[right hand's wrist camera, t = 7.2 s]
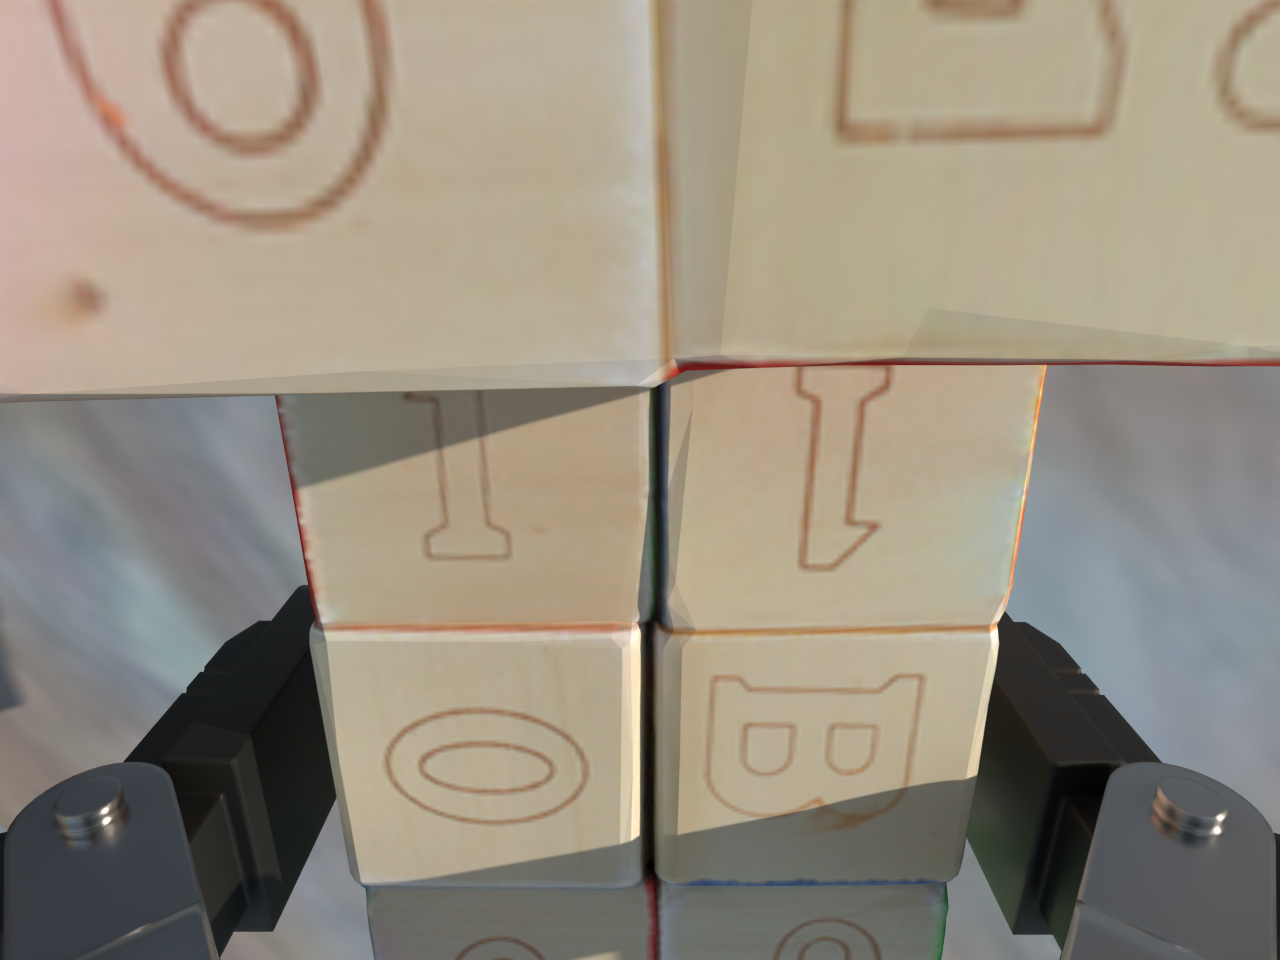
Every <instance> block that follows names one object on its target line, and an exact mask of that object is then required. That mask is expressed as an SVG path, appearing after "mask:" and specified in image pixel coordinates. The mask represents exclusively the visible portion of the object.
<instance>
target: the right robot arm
mask: <svg viewBox="0 0 1280 960" xmlns="http://www.w3.org/2000/svg"><path fill="white" fill-rule="evenodd" d="M315 619H316V617H315V613H314V610H313V606H312V602H311V597H310V592H309V586H308V585H301V586H300V587H298V588H297V589H296V590H295V592H294V593H293V594H292V595H291V597H290V598H289V599H288V600H287V602H286V603H285V604H284V605H283V607H282V608H281V609H280V610H279V612H278V613H277V614H276V615H275V617H274V618H273V619H272V621H258V622H256V623H255V624H253V625H252V626H250V627H249V628H247V629H245V630H244V631H242V632H241V633H239V634H238V635H236V636H234V637H233V638H231V639H230V640H228V641H227V642H225V643H224V645H223V646H222V647H221V648H220V649H219V650H218V652H217V653H216V654H215V655H214V656H213V657H212V659H211V660H210V661H209V662H208V663H207V664H206V666H205V667H204V668H205V669H204V672H200V673H199V674H198V675H197V676H196V677H195V679H194V680H193V681H192V682H191V683H190V684H189V686H188V687H187V692H186V693H182V694H181V695H180V696H179V697H178V698H177V700H176V701H175V702H174V703H173V704H172V706H171V707H170V708H169V709H168V710H167V711H166V713H165V714H164V715H163V716H162V717H161V718H160V720H159V721H158V722H157V723H156V724H155V725H154V727H153V728H152V729H151V730H150V731H149V732H148V734H147V735H146V736H145V737H144V738H143V740H142V741H141V742H140V743H139V744H138V745H137V747H136V748H135V749H134V750H133V751H132V752H131V754H130V755H129V756H128V757H127V758H126V759H125V761H124V762H123V763H114V764H110V765H105V766H100V767H97V768H94V769H91V770H87V771H85V772H82V773H80V774H77V775H74V776H72V777H70V778H68V779H66V780H64V781H62V782H60V783H58V784H56V785H55V786H53V787H51V788H50V789H48V790H46V791H45V792H43V793H42V794H41V795H39V796H38V797H36V798H35V799H34V800H33V801H32V802H30V803H29V804H28V805H27V806H26V807H25V808H24V809H23V810H22V811H21V812H20V813H19V814H18V815H17V816H16V818H15V819H14V821H13V822H12V823H11V825H10V827H9V829H8V831H7V832H5V833H0V960H220V957H221V955H222V953H223V951H224V949H225V947H226V945H227V943H228V941H229V939H230V938H231V936H232V934H233V932H273V931H274V928H275V926H276V924H277V922H278V920H279V918H280V916H281V914H282V912H283V909H284V907H285V905H286V903H287V901H288V899H289V897H290V895H291V893H292V890H293V888H294V886H295V884H296V882H297V880H298V878H299V876H300V874H301V871H302V869H303V867H304V865H305V863H306V861H307V859H308V857H309V855H310V852H311V850H312V848H313V846H314V844H315V842H316V840H317V838H318V836H319V833H320V831H321V829H322V827H323V825H324V823H325V821H326V819H327V817H328V814H329V812H330V810H331V808H332V806H333V804H334V802H335V800H336V797H337V796H336V791H335V785H334V780H333V774H332V769H331V763H330V757H329V752H328V746H327V740H326V735H325V729H324V724H323V718H322V712H321V707H320V701H319V695H318V690H317V684H316V678H315V673H314V667H313V662H312V656H311V650H310V645H309V642H310V628H311V626H312V624H313V622H314V620H315ZM997 629H998V639H999V647H998V655H997V662H996V669H995V674H994V679H993V683H992V688H991V693H990V698H989V703H988V709H987V715H986V722H985V728H984V735H983V741H982V748H981V754H980V761H979V767H978V773H977V780H976V785H975V790H974V795H973V800H972V806H971V811H970V816H969V821H968V827H967V834H966V837H967V839H968V841H969V844H970V846H971V848H972V850H973V852H974V854H975V856H976V858H977V860H978V862H979V864H980V866H981V869H982V871H983V873H984V875H985V877H986V879H987V881H988V883H989V885H990V887H991V889H992V891H993V894H994V896H995V898H996V900H997V902H998V904H999V906H1000V908H1001V910H1002V912H1003V914H1004V917H1005V919H1006V921H1007V923H1008V925H1009V927H1010V929H1011V931H1012V933H1013V935H1053V936H1054V937H1055V939H1056V941H1057V943H1058V945H1059V947H1060V949H1061V951H1062V953H1061V957H1060V960H1280V834H1276V833H1273V831H1272V829H1271V827H1270V825H1269V823H1268V822H1267V821H1266V819H1265V818H1264V816H1263V815H1262V814H1261V813H1260V812H1259V811H1258V810H1257V809H1256V808H1255V807H1254V806H1253V805H1252V804H1251V803H1250V802H1248V801H1247V800H1246V799H1245V798H1244V797H1242V796H1241V795H1239V794H1238V793H1237V792H1235V791H1234V790H1232V789H1230V788H1229V787H1227V786H1225V785H1224V784H1222V783H1220V782H1218V781H1216V780H1214V779H1212V778H1210V777H1208V776H1206V775H1203V774H1200V773H1198V772H1195V771H1193V770H1189V769H1186V768H1183V767H1180V766H1175V765H1170V764H1166V763H1162V762H1161V761H1160V760H1159V758H1158V757H1157V756H1156V755H1155V754H1154V753H1153V751H1152V750H1151V749H1150V748H1149V747H1148V746H1147V744H1146V743H1145V742H1144V741H1143V740H1142V739H1141V738H1140V736H1139V735H1138V734H1137V733H1136V732H1135V731H1134V729H1133V728H1132V727H1131V726H1130V725H1129V724H1128V722H1127V721H1126V720H1125V719H1124V718H1123V717H1122V715H1121V714H1120V713H1119V712H1118V711H1117V710H1116V708H1115V707H1114V706H1113V705H1112V704H1111V703H1110V702H1109V700H1108V699H1107V698H1106V697H1105V696H1104V695H1100V694H1099V689H1098V688H1097V686H1096V685H1095V684H1094V683H1093V682H1092V681H1091V679H1090V678H1089V677H1088V676H1087V675H1086V674H1082V673H1081V668H1080V667H1079V666H1078V664H1077V663H1076V662H1075V661H1074V660H1073V659H1072V657H1071V656H1070V655H1069V654H1068V653H1067V652H1066V650H1065V649H1064V648H1063V647H1062V646H1061V645H1060V644H1059V643H1058V642H1056V641H1055V640H1053V639H1052V638H1050V637H1048V636H1047V635H1045V634H1044V633H1042V632H1040V631H1039V630H1037V629H1036V628H1034V627H1033V626H1031V625H1029V624H1028V623H1026V622H1013V620H1012V619H1011V618H1010V617H1009V615H1008V614H1007V613H1006V612H1005V611H1004V613H1003V615H1002V616H1001V618H1000V620H999V622H998V624H997Z"/></svg>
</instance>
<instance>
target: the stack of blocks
mask: <svg viewBox="0 0 1280 960" xmlns="http://www.w3.org/2000/svg"><path fill="white" fill-rule="evenodd" d="M1099 364H1115V365H1165V366H1280V0H0V403H9V402H34V401H73V400H111V399H150V398H189V397H227V396H266V395H275V398H276V404H277V410H278V415H279V421H280V427H281V432H282V438H283V443H284V449H285V455H286V460H287V466H288V471H289V477H290V483H291V488H292V494H293V499H294V505H295V511H296V517H297V522H298V528H299V534H300V540H301V546H302V552H303V558H304V564H305V570H306V575H307V581H308V586H309V592H310V597H311V602H312V606H313V610H314V613H315V617H316V619H315V620H314V622H313V624H312V626H311V628H310V642H309V645H310V650H311V656H312V662H313V667H314V673H315V678H316V684H317V690H318V695H319V701H320V707H321V712H322V718H323V724H324V729H325V735H326V740H327V746H328V752H329V757H330V763H331V769H332V774H333V780H334V785H335V791H336V796H337V802H338V807H339V813H340V818H341V824H342V829H343V835H344V840H345V846H346V851H347V857H348V862H349V868H350V873H351V874H352V876H353V878H354V880H355V881H356V882H357V883H359V884H360V885H361V886H363V887H364V888H366V901H367V914H368V923H369V931H370V937H371V943H372V949H373V955H374V960H941V957H942V951H943V944H944V937H945V927H946V917H947V912H948V896H947V885H946V882H949V881H951V880H952V879H953V878H954V877H956V876H957V875H958V873H959V870H960V867H961V863H962V860H963V855H964V848H965V841H966V834H967V827H968V821H969V816H970V811H971V806H972V800H973V795H974V790H975V785H976V780H977V773H978V767H979V761H980V754H981V748H982V741H983V735H984V728H985V722H986V715H987V709H988V703H989V698H990V693H991V688H992V683H993V679H994V674H995V669H996V662H997V655H998V647H999V639H998V629H997V624H998V622H999V620H1000V618H1001V616H1002V615H1003V613H1004V611H1005V609H1006V606H1007V602H1008V598H1009V595H1010V592H1011V589H1012V587H1013V577H1014V567H1015V562H1016V557H1017V552H1018V547H1019V541H1020V535H1021V529H1022V523H1023V517H1024V511H1025V505H1026V499H1027V493H1028V486H1029V479H1030V471H1031V464H1032V456H1033V449H1034V442H1035V436H1036V429H1037V423H1038V416H1039V410H1040V403H1041V397H1042V390H1043V384H1044V378H1045V372H1046V365H1099Z"/></svg>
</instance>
